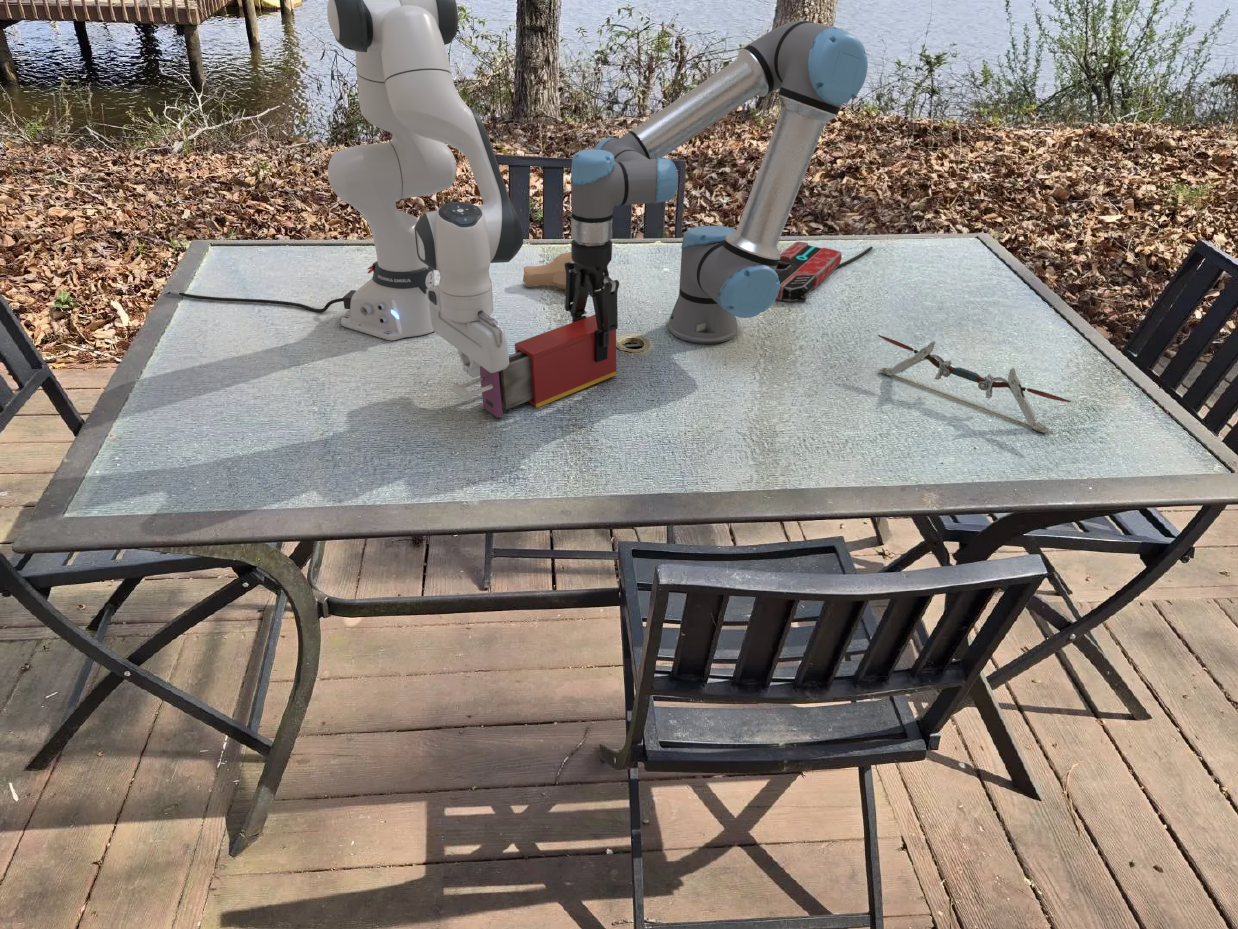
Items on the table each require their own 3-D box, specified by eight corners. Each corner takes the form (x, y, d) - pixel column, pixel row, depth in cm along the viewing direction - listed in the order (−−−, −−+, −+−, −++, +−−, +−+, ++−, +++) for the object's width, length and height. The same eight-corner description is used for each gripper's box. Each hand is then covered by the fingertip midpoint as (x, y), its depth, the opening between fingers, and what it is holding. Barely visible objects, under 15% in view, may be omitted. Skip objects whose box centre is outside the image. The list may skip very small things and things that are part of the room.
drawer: (469, 429, 158) (463, 383, 153) (455, 418, 161) (449, 373, 156) (577, 385, 171) (575, 341, 166) (562, 375, 174) (560, 332, 169)
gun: (728, 271, 214) (803, 290, 206) (777, 233, 236) (846, 249, 228) (726, 288, 217) (800, 308, 209) (775, 249, 239) (843, 266, 231)
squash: (606, 296, 211) (601, 263, 205) (524, 303, 213) (517, 271, 207) (606, 272, 219) (602, 240, 213) (527, 279, 221) (521, 248, 214)
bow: (1060, 435, 162) (1077, 387, 156) (1056, 439, 161) (1073, 391, 155) (873, 366, 183) (882, 322, 178) (869, 369, 182) (878, 325, 177)
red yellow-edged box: (536, 408, 166) (532, 354, 159) (518, 395, 170) (514, 343, 163) (616, 374, 176) (616, 323, 170) (598, 364, 180) (597, 313, 174)
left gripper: (516, 319, 144) (519, 391, 152) (452, 278, 157) (457, 347, 165) (483, 328, 141) (488, 403, 149) (420, 286, 153) (427, 356, 161)
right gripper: (641, 250, 156) (635, 366, 169) (576, 222, 168) (576, 332, 181) (608, 259, 152) (605, 377, 165) (544, 229, 164) (546, 341, 177)
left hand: (471, 373), depth 157 cm, fingers closed
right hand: (590, 353), depth 173 cm, fingers closed on red yellow-edged box, 6 cm apart
